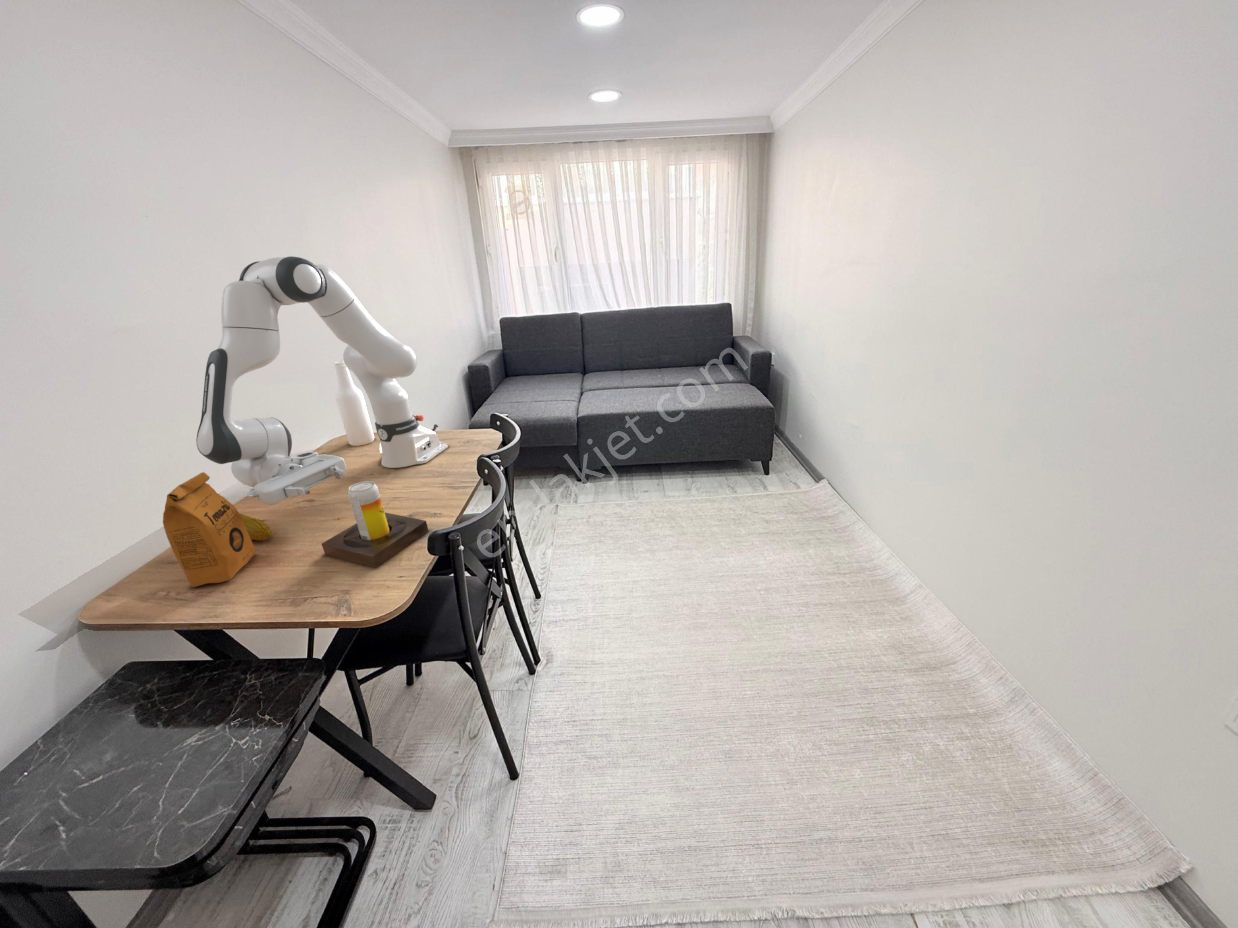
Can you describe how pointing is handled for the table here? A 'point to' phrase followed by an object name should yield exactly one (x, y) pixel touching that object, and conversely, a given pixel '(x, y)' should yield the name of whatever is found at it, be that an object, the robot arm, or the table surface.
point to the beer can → (368, 510)
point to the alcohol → (352, 408)
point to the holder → (375, 541)
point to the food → (256, 528)
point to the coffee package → (205, 532)
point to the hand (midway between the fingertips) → (325, 482)
